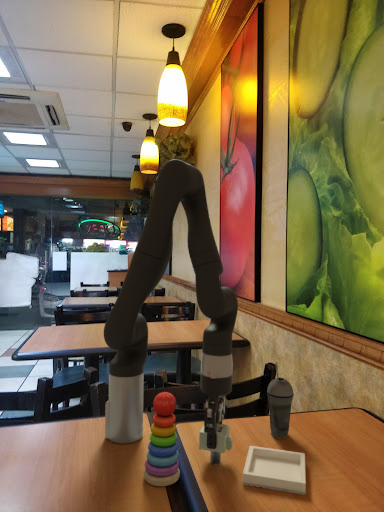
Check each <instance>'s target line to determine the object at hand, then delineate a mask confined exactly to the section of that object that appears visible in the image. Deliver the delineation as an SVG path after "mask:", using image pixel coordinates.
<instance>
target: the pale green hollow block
mask: <svg viewBox="0 0 384 512" xmlns="http://www.w3.org/2000/svg"><path fill="white" fill-rule="evenodd" d="M218 425H219V426H220V427H221V432H220V433H219V432H217V447H216V449H209V448H207V433H204V424H203V425H202V427H201V429H200V430H199V432H198V433H199V437H198V441H199V442H198V450H203V451H208V452H209V451H210V452H211V451H214V452H220V453H221V454H225V453H226V451H227V450H232V448H233V437H230V424H225V423H224V424H223V423H222V424H218ZM212 426H213V425H211V424H210V425H209V427H212Z"/></svg>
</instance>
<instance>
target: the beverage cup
mask: <svg viewBox="0 0 384 512" xmlns="http://www.w3.org/2000/svg"><path fill="white" fill-rule="evenodd" d="M274 365H275V371H276V378H274V379H272V380H271V381H270V382H269V384H268V386H267V391H266V395H267V400H268V410H269V411H268V412H269V413H268V414H269V425H270V426H269V427H270V435H271V436H272V437H273V438H276V439H278V440H279V439H281V440H283V439H284V440H285V439H286V438H288V437H289V430H290V421H291V411H292V403H293V400H294V395H295V394H294V389H293V386H292V384H291V383H290V381H289V380H288V379H285V378H284V377H280V376H279V375H280V374H279V367H278V361H275V364H274Z"/></svg>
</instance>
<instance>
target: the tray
mask: <svg viewBox="0 0 384 512" xmlns="http://www.w3.org/2000/svg"><path fill="white" fill-rule="evenodd" d="M305 455H306V453H305V452H297V451H293V450H291V451H289V450H283V449H276V448H270V447H269V448H268V447H262V446H256V445H249V447H248V451H247V456H246V459H245V464H244V468H243V471H242V485H243V484H244V485H243V486H248V485H249V487H254V486H256V487H255V488H260V487H262V488H261V489H266V488H267V490H272V491H278V492H284V493H285V492H286V493H291V494H295V495H296V494H297V495H303V496H306V489H307V488H306V485H307V483H306V481H307V480H306V456H305Z"/></svg>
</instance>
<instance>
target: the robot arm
mask: <svg viewBox="0 0 384 512" xmlns="http://www.w3.org/2000/svg"><path fill="white" fill-rule="evenodd" d="M154 185H155V186H154V189H153V193H152V194H153V195H152V198H151V202H150V207H149V210H148V212H147V216H146V219H145V222H144V223H143V228H142V231H141V232H140V235H139V237H138V238H139V239H138V241H137V244H136V247H135V250H134V251H133V255H132V257H131V261H130V264H129V267H128V269H127V272H126V274H125V278H124V280H123V283H122V285H121V288H120V291H119V293H118V295H117V297H116V300H115V302H114V304H113V306H112V308H111V310H110V312H109V314H108V317H107V319H106V321H105V323H104V328H103V338H104V342H105V345H107V347H109V348H110V349H111V350H115V351H117V352H116V354H115V355H114V357H113V358H112V359H111V360H110V362H109V363H108V365H109V366H108V400H107V401H106V402H105V406H104V407H105V409H104V410H105V414H104V417H105V418H104V420H105V422H104V439H108V440H109V441H111V442H113V443H116V444H130V443H131V444H132V443H135V442H137V441H139V440H141V439H142V437H143V435H144V434H143V431H144V425H143V424H144V375H145V374H144V371H145V369H144V368H145V365H146V362H147V357H148V348H149V347H148V344H149V327H148V322H147V320H146V318H145V316H143V314H142V313H140V311H141V309H142V308H143V305H144V304H145V302H146V300H147V298H148V297H149V296H150V295H151V294H152V292H153V291H154V290H155V288H156V287H157V286H158V285H159V283H160V282H161V280H162V279H163V277H164V276H165V273H166V270H167V269H168V265H169V262H170V260H171V257H172V254H173V248H174V247H173V246H174V240H173V239H174V238H173V235H174V234H173V227H174V226H173V225H174V219H175V215H176V213H177V210H178V207H179V205H180V203H181V206H182V208H183V210H184V213H185V217H186V221H187V223H186V224H187V250H188V254H189V258H190V263H191V266H192V269H193V272H194V275H195V277H194V278H195V296H196V302H197V305H198V308H199V310H200V312H201V313H202V315H203V316H204V317H206V318H208V319H210V323H209V325H208V326H207V327H206V328H205V329H204V331H203V333H202V354H201V359H200V381H199V382H200V388H199V390H200V391H201V392H202V394H206V395H207V396H208V399H206V400H205V407H204V408H203V425H204V433H207V448H209V449H216V447H217V432H218V430H217V428H218V424H223V421H224V418H225V417H224V416H225V414H226V396H227V395H229V394H231V393H232V391H233V365H234V364H233V361H234V360H233V332H234V329H235V326H236V322H237V321H236V320H237V316H238V310H239V300H238V296H237V294H236V293H235V291H234V290H233V289H232V288H230V287H228V286H222V285H221V280H220V276H221V275H222V274H223V272H224V265H223V263H222V262H223V261H222V259H221V255H220V252H219V250H218V246H217V243H216V239H215V236H214V233H213V232H214V231H213V228H212V224H211V223H212V222H211V219H210V212H209V207H208V201H207V194H206V185H205V180H204V176H203V173H202V171H201V170H200V169H198V168H197V167H196V166H195V165H192V164H190V163H188V162H185V161H183V160H181V159H177V158H174V159H170V160H168V161H167V162H165V164H163V166H162V167H161V169H160V171H159V172H158V175H157V178H156V182H155V184H154ZM210 424H211V425H213V427H209V425H210Z"/></svg>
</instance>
